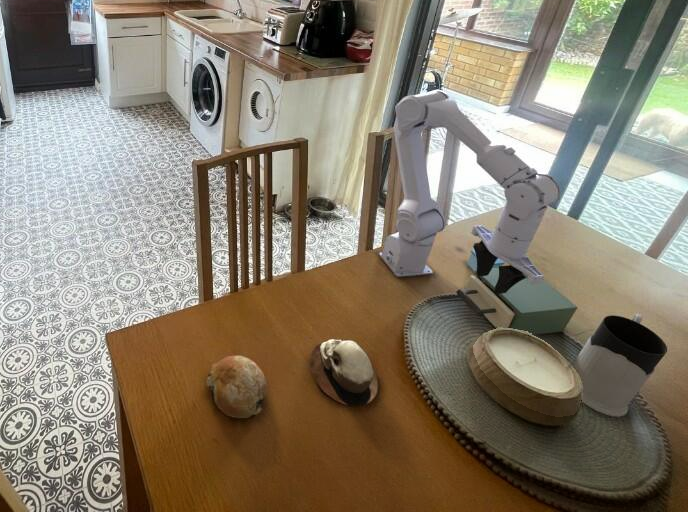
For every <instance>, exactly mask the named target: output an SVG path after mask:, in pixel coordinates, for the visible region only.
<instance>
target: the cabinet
mask: <svg viewBox="0 0 688 512" xmlns="http://www.w3.org/2000/svg"><path fill="white" fill-rule="evenodd" d="M474 272H475V271H474ZM474 275H475V276H476V277H477V278H478V279H479V280H480V281H481V280H483V281H484V282H485V283H486V284H488V285H489V286H490V287H491V288H492V289H493V290H495V286H496V284H497V281H498V278H499V268H493V269H491V271H490V273H489V274H488V276H478V275H477V270H476V272H475V273H474V274H473V276H474ZM527 279H528V278H525V279H523V280H521V281H520V282H518V283H516V284H515V285H514V286H512V287H511V288H510V289H509V290H508V291H507V292H506V293H501V294H498V295H499V296H500V297H501V298H502V299H503V300H504V301H505V302H506V303H507V304H508V305H509V306H510V307H511V308H513V309H514V310H515V311H516V312H517V314H516V316H515V317H514V319H513V321H512V323H511V325H510V327H508V328H513V329H518V330H524V331H528V332H529V333H532V334H534V335H533V336H536V335H543V334H552V333H560V332H564V331H565V329H566V328H567V326H568V324H569V323H570V321H571V320H572V318H573V316H574V314H575V313H576V311H577V310H578V307H579V306H577V305H576V304H574V303H573V302H572V301H571V300H570V299H569V298H567V297H566V296H565V295H564V294H562V293H561V292H560V291H558V289H556V288H555V287H554V286H553V285H551V284H550V283H549V282H548V281H547V280H546V279H544V278H543V280H542V282H541V284H530V283H529V282H528V281H527Z"/></svg>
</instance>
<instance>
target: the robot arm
mask: <svg viewBox="0 0 688 512" xmlns="http://www.w3.org/2000/svg"><path fill="white" fill-rule="evenodd" d="M394 109H395V110H394V111H395V118H394V119H395V120H394V124H393V134H394V135H393V136H394V141H395V147H396V153H397V160H398V165H399V172H400V179H401V185H402V192H403V201H402V202H401V204H400V205H399V207H398V209H397V219H396V223H395V225H396V230H397V232H395V233H393V234H390V235H387V236H386V238H385V241H384V244H383V247H382V252H379V253H378V254H379V257H380V258H381V259H382V260H383V261H384V262H385V264H386V265H387V266H388V267H389V269H390V270H391V271H392V272H393V274H394V276H395V277H397V278H401V277H402V278H403V277H412V276H413V277H414V276H424V275H432V274H433V272H434V271H433V270H432V269H431V268H430V267H429V265H428V264H427V263H428V260H429V257H430V254H431V252H432V248H433V245H434V243H435V239H436V236H437V233H441V232H443V231H444V230H445V228H446V226H447V222H446V218H445V215H444V214H443V213H442V210H441V207H440V204H439V202H437V201H436V200H435V199H433V198H432V196H431V189H430V182H429V176H428V169H427V162H426V157H425V156H426V155H425V150H424V149H425V147H424V142H423V137H422V136H423V135H422V133H423V132H424V131H425V130H426V129H427V128H428V127H435V128H444V129H445V130H447V131H448V132H449V133H450V134H452V135H453V137H455V138H456V139H458V141H460V142H461V143H463V144H464V145H465V146H466V147H467V148H468V149H470V150H471V151H472V152H473V153H474V154H476V155H475V156H476V164H477V165H478V166H479V167H480V168H481V169H482V170H484V171H485V172H486V173H487V174H488V175H489V176H490V177H491V178H492V179H493V180H494V181H495V182H496V183H497V184H498V185H499V186H500V187H501V188H503V190H504V191H503V193H504V197H505V200H506V203H505V204H504V207H503V209H502V211H501V214H500V216H499V218H498V221H497V223H496V225H495V227H494V230H493V231H491V230H490V229H488V228H486V227H485V226H484V225H481V224H480V225H473V227H472V229H471V232H470V233H471V234H472V236H474V237H478V238H479V239H480V241H479V242H474V244H473V246H472V247H473V250H475V253H476V258H477V275H478V276H488V274H489V273H490V271H491V269H492V267H493V265H494V263H495V262H496V260H497V259H498V258H499V259H501V260H502V261H503V262H504V263H507V264H508V265H502V266H499V278H498V281H497V284H496V286H495V290H494V291H495V292H496V293H497V294H501V293H506V292H507V291H508V290H509V289H510V288H511V287H512V286H514V285H515V284H516V283H518V282H520V281H521V280H523V279H525V278H528V279H527V281H528V282H529V283H530V284H541V282H542V280H543V279H544V278H545V275H544V274H543V273H542V272H541V271H540V270H539V269H538V268H537V267H536V265H535V264H534V263H533V262H532V260H531V258H529V256H528V255H527V253H528V252H529V250H528V249H529V248H530V245H531V243H532V241H533V240H534V237H535V235H536V234H537V231H538V230H539V227H540V225H541V223H542V221H543V219H544V216H545V214H546V211H547V209H548V205H550V204H552V203H554V202H556V200H558V199H559V197H560V195H561V188H560V186H559V184H558V182H557V181H556V180H555V179H554V177H553V176H552V175H550V174H547V173H544V172H540V171H538V170H536V169H535V167H530V166H529V165H528V164H527V163H526V162H525V161H524V160H522V159H521V157H519V156H518V155H517V154H516V149H514V148H513V147H512V146H508V147H507V145H506V144H504V143H494V142H492V141H491V140H490V139H489V138H488V137H487V136H486V135H485V134H484V133H483V132H482V131H481V130H480V129H479V128H478V127H477V126H476V124H474V123H473V122H472V121H471V120H470V119H469V118H468V116H466V115H465V114H464V112H462V111H461V109H460V108H459V106H458V103H457V101H456V100H454V99H453V98H451V97H450V96H449V95H448V94H447V92H445V91H443V90H440V89H434V90H431V91H427V92H422V93H417V94H413V95H407V96H404V97H402V98H401V99H400V100H399V102H398V103H397V104H395V106H394Z"/></svg>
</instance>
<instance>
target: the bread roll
mask: <svg viewBox="0 0 688 512" xmlns="http://www.w3.org/2000/svg"><path fill="white" fill-rule="evenodd" d="M267 385H268V384H267V380H266V377H265V374H264V372H263V371H262V369H261V368H260V366H259V365H258V364H257V363H255V362H254V361H253V360H252V359H250V358H248V357H246V356H243V355H228V356H225V357H222V358H221V359H220V360H219V361H217V362H215V363H213V364H212V367H211V369H210V370H209V373H208V375H207V378H206V386H207V388H210V390H209V394H210V395H211V396H212V397H213V401H214V403H215V405H216V406H217V408H218V409H219V410H220V411H221V412H222V413H223V414H225V415H226V416H228V417H231V418H234V419H235V418H237V419H248V418H250V417H252V416H257V415H258V414H259V413H261V411H262V407H261V406H262V403H263V402H264V400H265V398H266V395H267V391H268V389H267V387H268V386H267Z"/></svg>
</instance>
